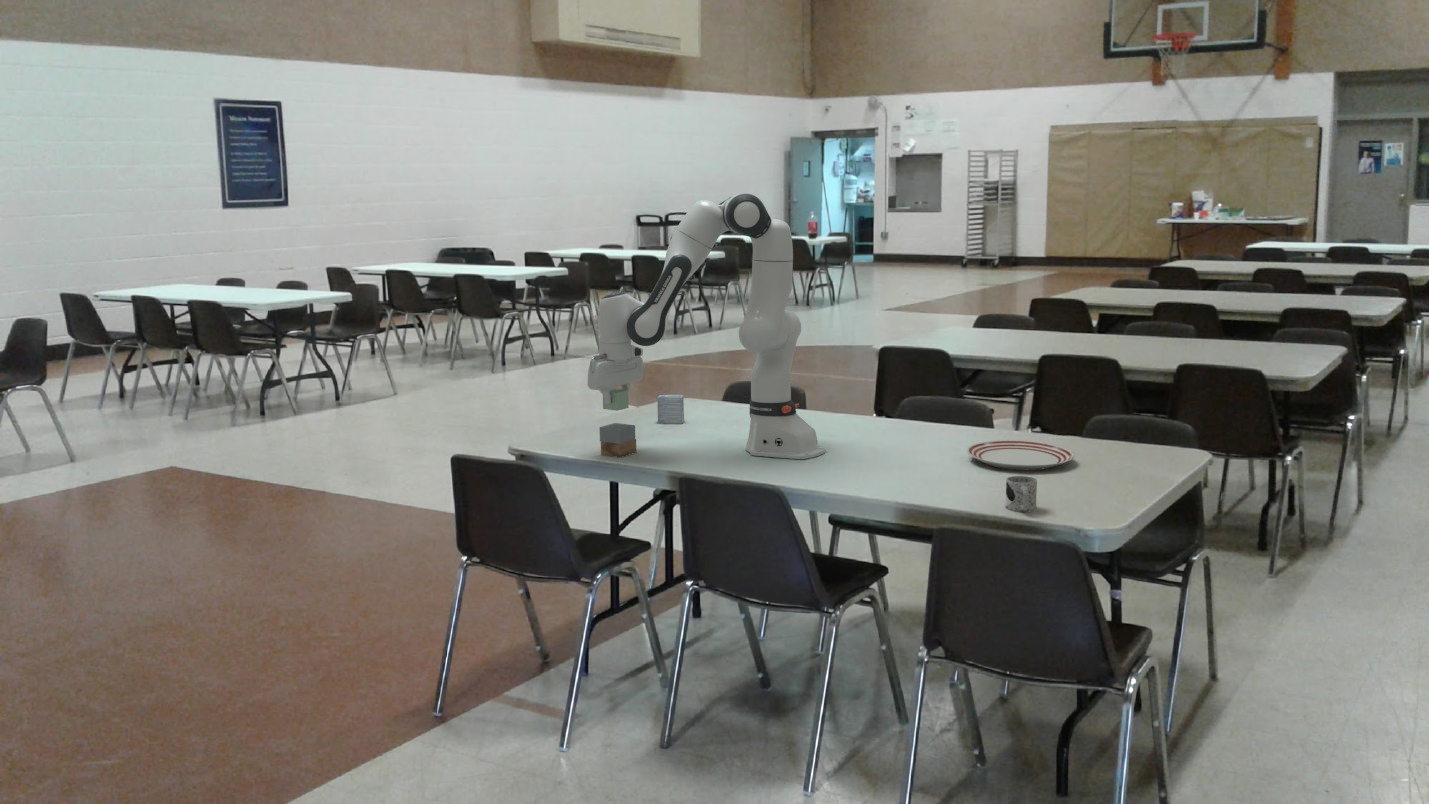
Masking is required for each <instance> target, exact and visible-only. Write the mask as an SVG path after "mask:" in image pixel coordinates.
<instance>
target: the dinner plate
mask: <svg viewBox="0 0 1429 804" xmlns="http://www.w3.org/2000/svg"><path fill="white" fill-rule="evenodd" d="M966 453H967V454H968V455H969V456H971V457H973V458H974V459H976V460H977V461H979V462H982V463H985V464H987V465H988V464H989V465H988V466H991V467H994V466H995V468H1000V469H1005V468H1007V469H1006V470H1014V469H1017V470H1016V471H1018V469H1020V470H1019V471H1025V470H1024V469H1039V470H1043V469H1042V468H1046V469H1049V467H1050V468H1053V467H1057V466H1060V465H1063V464H1065V463H1067V462H1070V461H1071V460H1073V459H1074V457H1075V455H1074V453H1073V452H1072V451H1071V450H1070V449H1068V448H1065V447H1062V446H1059V445H1055V444H1052V443H1047V442H1041V441H1033V440H1022V439H1021V440H1020V439H1001V440H1000V439H999V440H989V441H988V440H987V441H982V442H978V443H973V444H971V445H969V446H967V448H966ZM1022 469H1023V470H1022Z"/></svg>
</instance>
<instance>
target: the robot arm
mask: <svg viewBox="0 0 1429 804" xmlns="http://www.w3.org/2000/svg"><path fill="white" fill-rule="evenodd" d="M727 231H728V232H729V231H730V232H732V233H735V234H738V235H743V236H746V237H749V239H750V240H751V244H752V260H751V261H752V265H751V269H752V270H751V287H750V294H749V299H748V303H747V307H746V313H745V315H744V319H743V321H742V323H741V324H740V326H739V329H738V339H739V342H740V344H741V345H742V346H743V348H745V349H746V350H747V351H749V352H752V353H756V358H755V362H754V364H753V368H751V371H750V397H751V398H750V400H749V418H750V423H749V430H748V431H749V432H748V438H747V443H746V446H745V450H746V451H747V452H748V453H750V455H751V456H757V457H771V458H781V459H794V460H806V459H813V458H816V457H818V456H822V455H824V453H826V447H825V446H821V445H818V437H817V432H816V430H815V429H814V428H813V426H811V425H810V424H809V423H807V421H805V420H804V418H802V417H801V416H800V415H798V413H797V408H800V406H799V405H800V403H794V401H793V400H792V391H791V390H792V367H793V362H794V356H795V353H796V346H797V342H798V339H799V337H800V335H801V333H802V332H801V331H802V323H801V320H800V318H799V316H798V315H797V314H796V313H794V312H793V311H792V310H791V311H790V310H787V309H786V307H787V303H788V299H789V296H790V294H791V292H792V289H793V271H794V268H793V266H794V249H793V248H794V247H793V238H792V232H791V228H790V225H789V224H788V223H787V222H786V221H784V220H782V219H780V218H779V219H778V218H772V217H771V216H770V214H769V212H768V209H766V206H765V204H764V203H763V201H762V200H761V199H760V198H759V197H757V196H756V195H754V194H752V193H749V192H738V193H736V194H734V195H731V196H730V197H728V198H727V199H725V200H723V201H721V202H720V203H716V202H714V201H712V200H708V199H700V200H697V201H696V202H694V204H692V206H691V207H690V208H689V210H688V211H687V212H686V213H685V215H684V216H683V218H682V219H681V221H680V222H679V224H678V226H676V229H675V231H674V233H673V234H672V237H671V238H670V242H669V244H668V247H667V250H666V253H665V260H664V265H663V269H662V272H661V275H660V277H659V279H658V280H657V282H656V284H655V285H654V288H653V289H652V291H651V292H650V294H649V297H648V298H647V300H645V302H643V301H641V300H639V299H636V298H634V297H633V296H631V295H629V293H627V292H625V291H624V292H623V291H622V292H613V293H610V294H606V295H604V296H603V297H602V298H601V299H600V300H599V304H598V313H597V314H598V317H597V321H598V322H597V323H598V329H599V338H598V354H597V355H593V357H592V358H591V360H590V362H589V366H588V370H587V387H588V388H589V390H592V391H593V390H594V391H600V392H601V394H602V397H603V396H604V402H605V404H610V403H613V397H611V396H610V393H609V392H610V389H611V388H615V387H619V386H620V387H621V389H623V390H628V392H629V391H630V388H631V384H632V383H636V382H642V379H643V376H644V362H643V358H642V356H643V354H644V353H643V352H644V350H643V348H642V347H650V346H654V345H656V344H657V343H658V342H660V341H661V339H662V338H663V336H664V335H665V331H666V330H665V329H666V319H667V316H668V313H669V311H670V309H671V307H672V305H673V304H674V301H675V300H676V298H677V297H678V294H679V293H680V292H681V289H682V287H683V286H684V284H686V282H688V280H689V279H690V278H691V277H692V275H694V273H696V272H697V271H698V269H699V268H700V267H701V266H702V265H703V263H704V262H705V260H707V258H708V257H709V255H710V253H711V251H712V249H713V248H714V246H715V244H716V243H717V241H718V239H720V236H721V235H723V234H724V233H725V232H727ZM632 342H633V343H635V344H636V345H639V346H642V347H638V346H636V345H633V344H632Z"/></svg>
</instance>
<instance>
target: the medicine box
mask: <svg viewBox="0 0 1429 804" xmlns="http://www.w3.org/2000/svg"><path fill="white" fill-rule="evenodd" d="M656 399H657V401H656V402H657V405H656V406H657V424H658V425H672V424H673V425H682V424H683V423H684V422H685V409H684V407H685V402H684V395H683V394H659V395H658V396H657V397H656Z"/></svg>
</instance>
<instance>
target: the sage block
mask: <svg viewBox="0 0 1429 804" xmlns="http://www.w3.org/2000/svg"><path fill="white" fill-rule="evenodd" d="M609 393H610V396H611V397H613V403H610V404H605V402H604V396H603V395H602V409H603V410H609V411H616V412H617V411H621V410H625V409H629V407H630V406H629V391H628V390H623V389H622V388H610V392H609Z"/></svg>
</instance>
